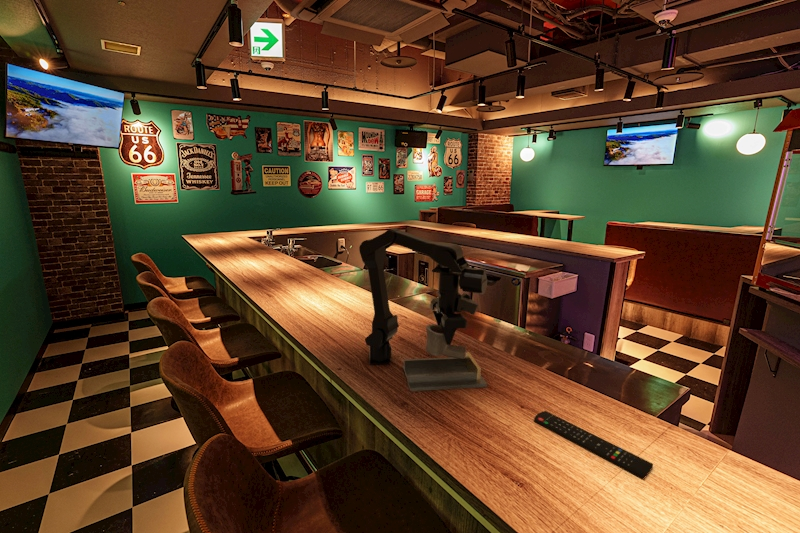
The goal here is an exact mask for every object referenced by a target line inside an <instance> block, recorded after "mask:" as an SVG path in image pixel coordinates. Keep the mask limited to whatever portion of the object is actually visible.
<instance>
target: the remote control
mask: <svg viewBox="0 0 800 533" xmlns="http://www.w3.org/2000/svg"><path fill="white" fill-rule="evenodd" d="M533 422H535V423H536V424H538V425H540V426H542V427H544V428H546V429H547V430H550V431H551V432H553V433H555V434H556V435H559V436H560V437H562V438H564V439H565V440H568V441H570V442H572V443H574V444H576V445H577V446H580V447H582V448H583V449H585V450H587V451H589V452H590V453H592V454H595V455H596V456H599V457H600V458H602V459H604V460H606V461H608V462H610V463H612V464H613V465H615V466H617V465H618V466H617V467H619V466H620V467H619V468H621V467H622V468H621V469H623V468H624V469H623V470H625V471H626V470H627V471H626V472H628V471H629V472H628V473H630V472H631V473H630V474H632V475H634V476H636V477H638V476H639V477H638V478H640V477H641V478H640V479H642V478H644V477H645V476H646V477H647V475H648V474H649V473H648V472H651V470H652V469H653V466H654V463H652V462H650V461H648V460H646V459H644V458H642V457H640V456H638V455H636V454H634V453H632V452H630V451H627V450H626V449H624V448H623V447H622V448H621V447H620V446H617V445H616V444H613V443H611V442H610V441H608V440H606V439H603V438H602V437H599V436H597V435H596V434H594V433H591V432H589V431H587V430H585V429H583V428H581V427H579V426H577V425H575V424H573V423H571V422H569V421H567V420H565V419H562V418H561V417H559V416H557V415H555V414H552V413H551V412H549V411H547V410H544V411H541V412H538V413H537V414H536V415H535V417H534V419H533ZM651 468H652V469H651ZM650 469H651V470H650ZM647 473H648V474H647ZM646 477H645V478H646ZM645 478H644V479H645Z"/></svg>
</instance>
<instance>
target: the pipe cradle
mask: <svg viewBox="0 0 800 533" xmlns="http://www.w3.org/2000/svg"><path fill="white" fill-rule="evenodd" d="M402 366H403V372H404V374H405V379H406V382H407V386H408V388H409V391H410V392H421V391H424V392H425V391H440V390H441V391H442V390H457V389H458V390H461V389H477V388H488V384H487V382H486V379H484V377H483V376H482V375H481V373H482V368H481V366H480V365H479V363H477V361H476V359H475V358H474V357H473V356H472V354H471V353H470V352H469V351H466V353H465V357H464V359H458V358H453V357H448V356H447V357H432V358H431V357H428V358H425V357H423V358H408V359H406V358H405V359H403V365H402Z"/></svg>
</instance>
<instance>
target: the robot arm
mask: <svg viewBox="0 0 800 533" xmlns="http://www.w3.org/2000/svg"><path fill="white" fill-rule="evenodd" d="M393 245H398V246H401V247H403V248H406V249H409V250H412V251H415V252H417V253H420V254H423V255H426V256H427V257H429V258H430V259H431V260H432V261H433V262H435V263H437V265H436V266H435V267H434V268H432V270H431V272H432V273H438V289H436V295H437V298H432V300H430V309H431V310H432V314H433V316H434V319H435V321H436V325H440V326H441V328H442V331H443V335H444V338H445V341H446V344H447V345H450V344H451V345H452V342H453V339H454V336H455V333H456V332H457V330H458V329H466V328H468V320H467V319H466V317H464V316H463V314H462V311H463V312H466V313H468V314H470V315H473V316H474V315H475V314H476V311H477V309H478V307H479V304H478V303H477V302H476V301H475V300H473V299H471V295H470V294H468V293H472V294H480V295H484V294H486V290H487V286H488V278H487V272H486V268H483V267H482V268H476V267H475V268H474V267H470V264H469V263H468V261H467V259H466V258H465V256H464V253H463V252H464V251H463V249H462V247H461V245H459V244H457V243H452V242H445V241H444V242H443V241H441V242H440V241H433V240H430V239H427V238H424V237H421V236H417V235H415V234H413V233H410V232H407V231H404V230H401V229H400V228H396V227H395V228H389V229H387V230H385V232H383V233H381V234H379V235H377V236H375V237H373V238H369V239H365V240H363V241H362V242H361V243H360V245H359V249H358V250H359V254H360V255H359V256H360V258H361V260H362V262H363V264H364V266H366V268H367V271H368V272H367V273H368V277H369V278H368V279H369V285H370V286H369V287H370V292H371V297H372V306H373V310H374V315H373V318H372V323H371V333H370V334H369V335H368V336H367V337H365V338H364V342H365V344H366V346H368V347H369V354H368V361H369V365H384V364H385V365H389V364H390V363H391V360H392V345H391V342H390V340H392V339H393V337H394V336H395V335H396V334H397V332H398V329H399V327H400V325H399V322H398V314H394V315H393V313H392V311H391V310H390V304H389V297H388V289H387V282H386V277H385V276H386V275H385V269H384V266H385V262H386V257H387V249H389V248H390V247H392V246H393ZM459 289H460V290H462V291H463V293H462V294H461V293H459V292H460V290H459ZM465 292H466V293H465Z"/></svg>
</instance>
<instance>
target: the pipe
mask: <svg viewBox="0 0 800 533" xmlns="http://www.w3.org/2000/svg"><path fill="white" fill-rule="evenodd" d="M425 328H426V342H425V343H426V344H425V350H426V353H427V354H429V355H431V356H433V357H440V356H445V357H447V358H448V357H453V358H458V359H464V357H466V352H467V350H466V349H467V348H466V346H462V345H456V344H452V343H451V344H450V345H447V344H446V341H445V338H444V335H443V331H442V328H441V326H440V325H437V323H436V324H432V323H431V324H427V325H426V326H425Z"/></svg>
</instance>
